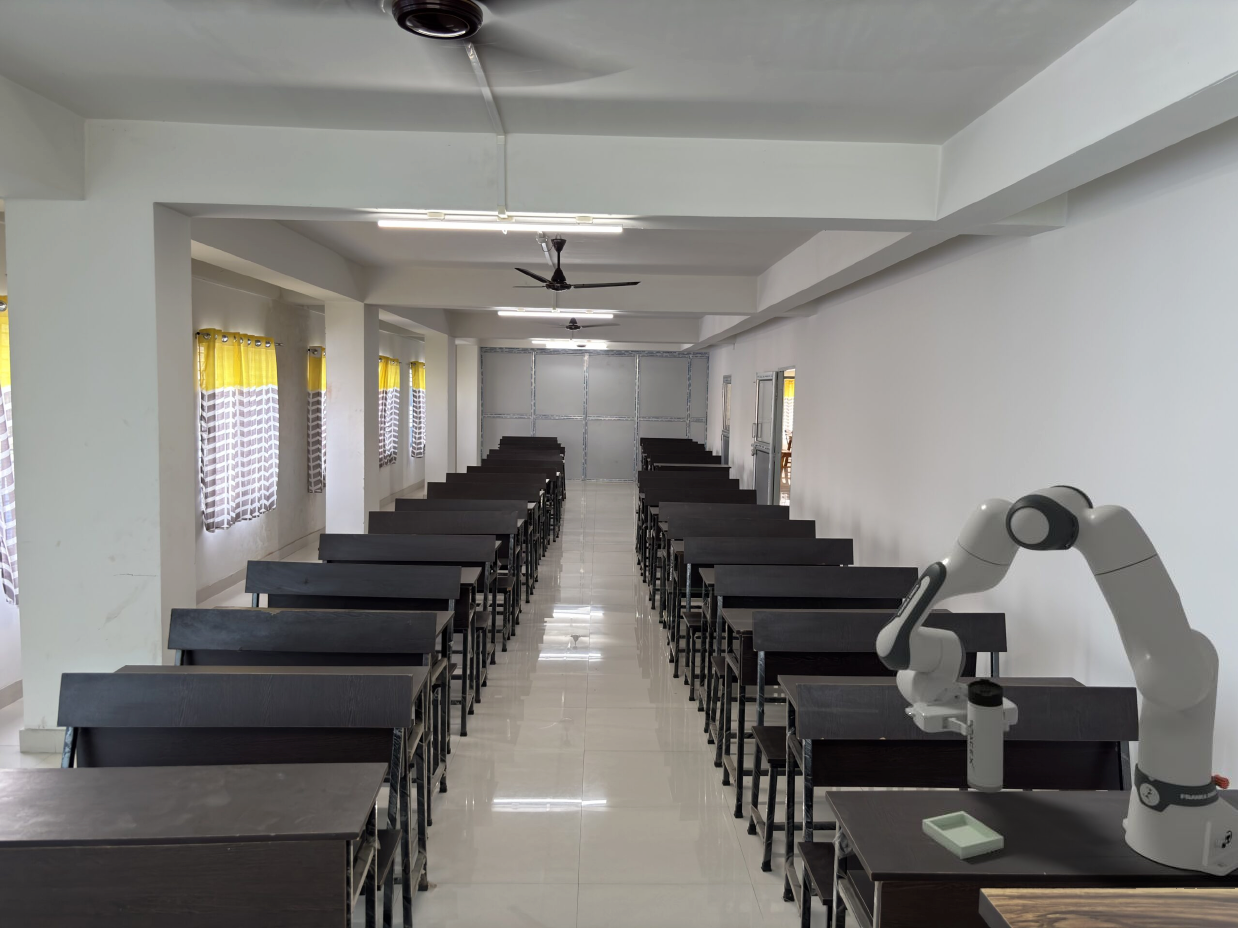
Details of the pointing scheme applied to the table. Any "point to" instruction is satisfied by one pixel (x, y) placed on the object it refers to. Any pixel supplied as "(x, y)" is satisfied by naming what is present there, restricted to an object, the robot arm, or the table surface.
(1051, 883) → the table surface
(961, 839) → the tray
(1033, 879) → the table surface
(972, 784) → the travel mug
